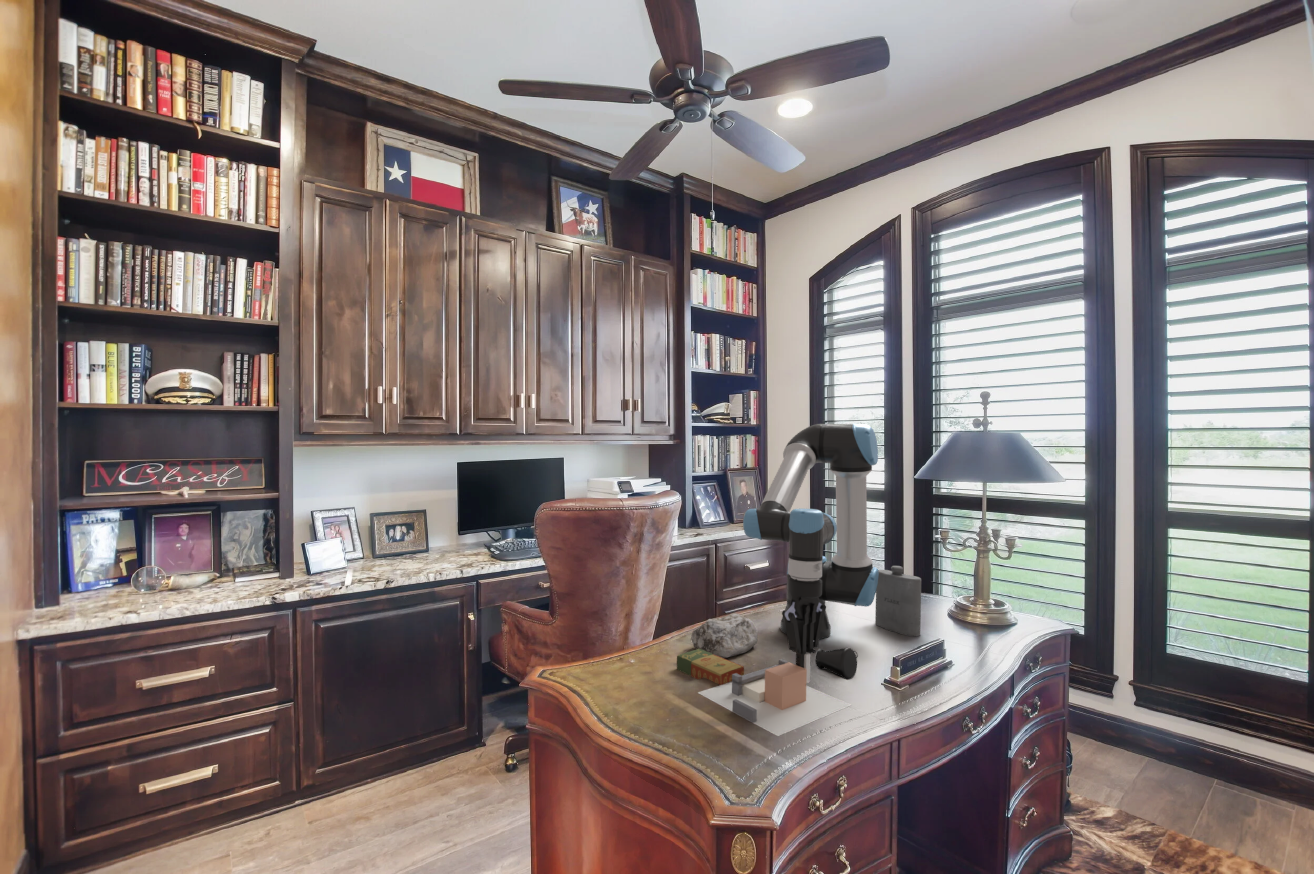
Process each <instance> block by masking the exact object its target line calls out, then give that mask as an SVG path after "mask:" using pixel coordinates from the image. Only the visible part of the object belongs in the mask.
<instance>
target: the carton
mask: <svg viewBox="0 0 1314 874" xmlns="http://www.w3.org/2000/svg"><path fill="white" fill-rule="evenodd" d="M676 670H677V671H680V672H681V673H684V674H685V675H688V676H690V677H692V678H693V679H694V678H695V679H696V680H700V679H703V678H704V679H706V680H709V681H711V682H713V683H715V684H716V685H718V686H720V685H723V684H726V683H729V682H732V674H735V673H737V674H739V675H741V676H742V675H745V667H744V666H743V665H741V664H738V663H736V662H733V661H731V660H728V659H727V658H721V657H719V656H716V655H714V654H712V653H709V652H707V651H704V650H702V649H698V648H695V649H694V650H691V651H687V652H683V653H680V654H678V655H676Z"/></svg>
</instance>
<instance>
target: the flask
mask: <svg viewBox="0 0 1314 874" xmlns="http://www.w3.org/2000/svg"><path fill="white" fill-rule="evenodd" d="M890 569H891V570H888V569H878V573H879V576H878V583H877V589H876V593H875V617H874V618H875V620H874V621H875V622H874V623H875V625H876V626H878V627H879V628H880V629H881V628H882V629H884V630H886V631H890V632H893V633H897V634H901V635H904V636H908V637H919V636H920V635H921V623H922V622H921V618H922V617H921V616H922V615H921V613H922V578H921V577H919V576H915V575H911V574H907V573H906V574H904V567H903V566H900V565H892V566H891V567H890Z"/></svg>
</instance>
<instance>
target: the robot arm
mask: <svg viewBox="0 0 1314 874" xmlns="http://www.w3.org/2000/svg"><path fill="white" fill-rule="evenodd" d="M878 454H879V449H878V442H877V436H876V433H875V431H874V429H873V428H872V426H870V425H869V424H863V423H862V424H861V423H816V424H813V425H810V426H808V427H806V428H804V429H802V430H800V431H799V432H797V433H796V434H795V435H794V436H793V437H792V438H791V439H789V441H788V443H787V444H786V446H785V448H784V450H783V452H782V455H783V460H782V462H781V464H780V465H779V467H778V470H777V472H776V474H775V476H774V478H773V480H772V482H771V484H770V485H769V488H768V491H767V492H766V494H765V495H764V497H763V501H762V502H761V504H760V506H759V508H755V507H754V508H749V509H747V510H746V511H745V513H744V515H743V518H742V519H743V520H742V526H743V532H744V534H745V535H746V536H747V538H751V539H756V540H757V539H758V540H760V541H762V540H765V541H772V542H773V541H775V542H786V543H788V561H787V571H786V575H787V576H786V606H785V608H784V610H782V612H781V615H782V617H781V620H780V631H781V632H782V633H784V634H786V636H787V642H788V643H787V644H788V650H789V651H791V652H792V653H793V652H794V653H795V665H797V666H800V667H802V668H805V669H807V680H806V685H807V684H808V683H810V682H811V666H812V654H816V653H817V650H816V649H817V648H819V644H820V639H825V638H828V637H829V636H831V633H832V629H831V628H832V626H831V624H830V621H829V617H828V613H827V606H826V605H827V604H826V602H830V603H837V604H838V603H839V604H845V605H850V606H854V607H858V606H859V607H870V606H871V605H872V604H873V602H874V600H875V598H876V589H877V583H878V576H879V573H878V570H879V569H878V568H877V567H876V566H873V559H872V558H871V557H870V556H868V539H867V538H868V536H867V535H868V533H867V532H868V530H867V528H868V527H867V526H868V525H867V524H868V523H867V520H868V518H867V516H868V515H867V514H868V512H867V510H868V509H867V506H868V504H867V501H868V500H867V497H868V496H867V476H868V475H869V474H870V473H871V472H872V471H873V466H875V465H878V461H879V456H878ZM818 463H821V464H829V465H830V466H829V467H830V468H829V470H830V472H832V473H833V475H834V476H835V515H836V516H835V519H834V517H832V516H831V515H830V514H828V513H825V512H822V511H821V510H820V509H817V508H793V509H792V507H793V506H794V502H795V501H796V499H797V495H798V494H799V492H800V489H801V487H802V485H803V483H804V481H805V478H806V476H807V474H808V471H809V470H811V469H812V468H813V467H814V466H815V464H818ZM791 509H792V510H791ZM835 520H836V521H835ZM835 536H836V553H835V555H833V556H832V557H831V562H830V561H829V562H828V560H827V557H826V556H824V555H823V552H824V545H827V544H829V543H830V542H831V541H832V540H833V539H834V537H835Z"/></svg>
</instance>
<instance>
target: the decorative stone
mask: <svg viewBox="0 0 1314 874" xmlns="http://www.w3.org/2000/svg"><path fill="white" fill-rule="evenodd" d="M754 623H755V622H754V621H752V619H750V618H748V617H745V616H743V615H742V614H740V613H737V612H733V613H730V614H728V615H726V616H721V617H714V618H709V619H707V620H706V621H705V622H704V623H702V624H701V625H700V626H698V627H697V628H695V629H694V630H692V633H691V638H690V640H691V642H692V645H693V647H694V648H695V649H702V650H704V651H707V652H709V653H712V654H714V655H716V656H719V657H721V658H724V659H727V658H730V657H735V656H737V655H742V654H745V653H746V652H748V651H750V650H751V649H752V648H753V647H754V646H756V644H757V642H758V630H757V627H756V625H755V624H754Z"/></svg>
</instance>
